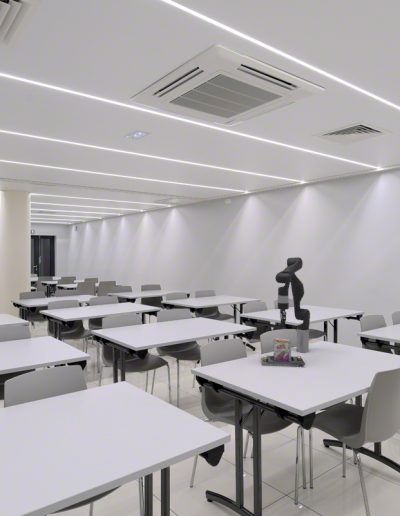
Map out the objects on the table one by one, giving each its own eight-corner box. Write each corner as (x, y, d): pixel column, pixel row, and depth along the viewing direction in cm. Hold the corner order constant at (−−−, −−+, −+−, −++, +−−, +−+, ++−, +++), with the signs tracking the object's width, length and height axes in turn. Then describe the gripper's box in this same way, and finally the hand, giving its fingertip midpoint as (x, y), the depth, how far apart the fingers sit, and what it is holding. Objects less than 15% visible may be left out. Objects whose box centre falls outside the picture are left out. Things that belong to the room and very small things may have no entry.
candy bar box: (273, 362, 271) (273, 339, 271) (275, 361, 275) (275, 337, 275) (289, 365, 265) (289, 341, 265) (291, 363, 270) (291, 339, 270)
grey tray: (260, 359, 279) (261, 352, 279) (300, 361, 277) (301, 353, 277) (262, 365, 264) (262, 358, 264) (304, 367, 261) (304, 359, 261)
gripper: (290, 303, 263) (289, 327, 263) (287, 300, 277) (287, 323, 277) (278, 303, 264) (278, 327, 264) (276, 300, 278) (276, 323, 278)
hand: (282, 325), depth 270 cm, fingers open, 8 cm apart
